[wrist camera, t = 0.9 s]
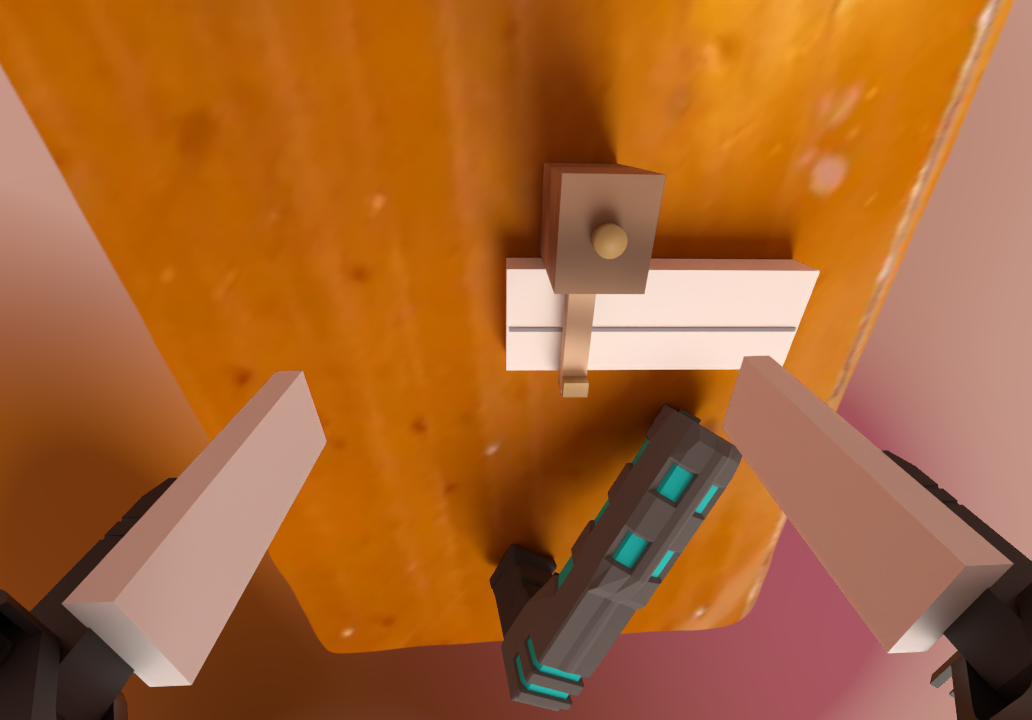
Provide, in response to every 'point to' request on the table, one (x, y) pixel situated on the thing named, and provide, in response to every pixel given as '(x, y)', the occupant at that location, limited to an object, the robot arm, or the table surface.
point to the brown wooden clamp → (595, 246)
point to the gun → (608, 562)
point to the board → (665, 315)
